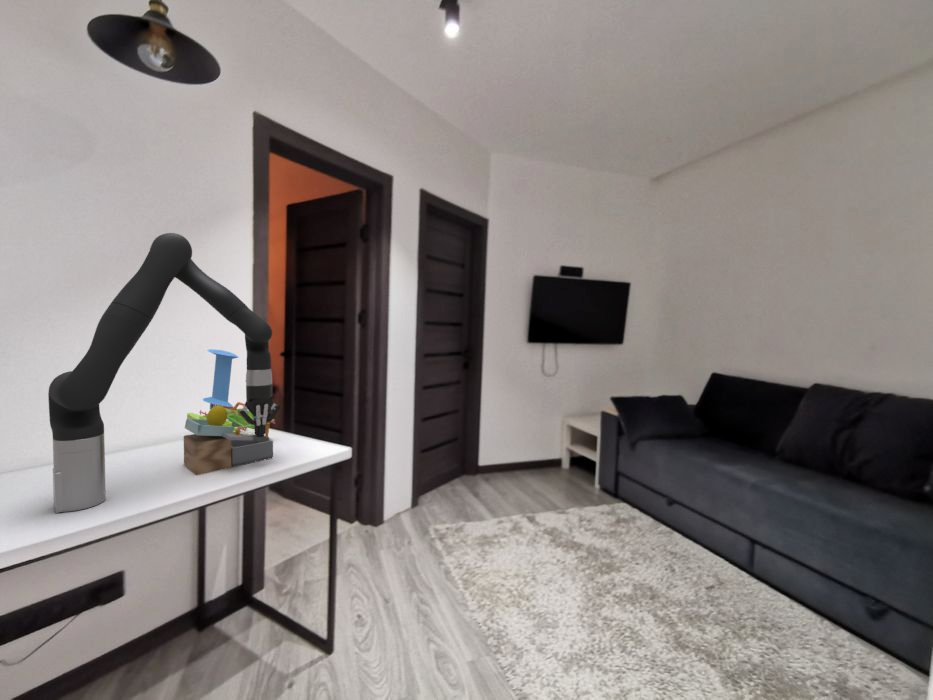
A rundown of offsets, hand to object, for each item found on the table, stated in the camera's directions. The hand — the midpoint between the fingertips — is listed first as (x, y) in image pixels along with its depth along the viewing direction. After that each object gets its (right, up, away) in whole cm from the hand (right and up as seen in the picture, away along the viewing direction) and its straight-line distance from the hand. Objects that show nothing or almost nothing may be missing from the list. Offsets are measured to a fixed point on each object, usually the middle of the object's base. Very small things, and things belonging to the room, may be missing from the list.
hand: (260, 436), depth 131 cm
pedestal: (-16, -10, -1) cm, 19 cm away
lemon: (-15, +2, 0) cm, 15 cm away
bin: (-9, -9, +8) cm, 15 cm away
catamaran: (-25, -8, +28) cm, 39 cm away
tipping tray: (-11, +1, 0) cm, 11 cm away
